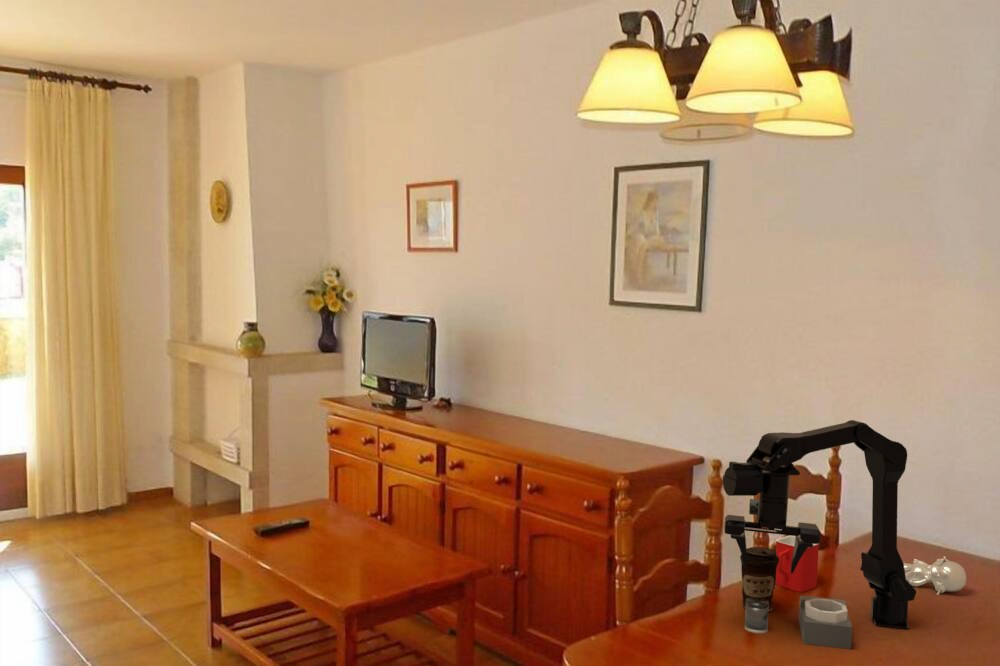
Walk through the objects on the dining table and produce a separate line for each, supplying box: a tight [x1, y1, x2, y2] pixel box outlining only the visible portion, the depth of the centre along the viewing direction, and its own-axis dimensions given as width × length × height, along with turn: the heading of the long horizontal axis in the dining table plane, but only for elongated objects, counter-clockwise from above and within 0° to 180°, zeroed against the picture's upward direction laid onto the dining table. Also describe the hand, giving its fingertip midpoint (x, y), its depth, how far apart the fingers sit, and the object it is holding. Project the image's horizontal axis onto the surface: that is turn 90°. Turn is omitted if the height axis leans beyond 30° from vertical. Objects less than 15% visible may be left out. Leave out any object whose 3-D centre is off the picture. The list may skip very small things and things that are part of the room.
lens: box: [744, 597, 769, 634], centre depth 185 cm, size 5×5×6 cm
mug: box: [775, 535, 821, 593], centre depth 211 cm, size 12×8×11 cm
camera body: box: [798, 595, 853, 650], centre depth 183 cm, size 9×12×6 cm
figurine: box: [903, 555, 967, 596], centre depth 213 cm, size 11×7×15 cm
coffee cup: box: [739, 546, 779, 612], centre depth 197 cm, size 9×8×13 cm
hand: (768, 569), depth 184 cm, fingers open, 9 cm apart
